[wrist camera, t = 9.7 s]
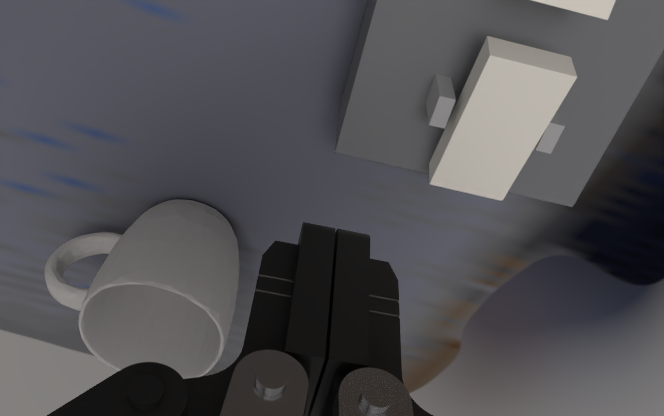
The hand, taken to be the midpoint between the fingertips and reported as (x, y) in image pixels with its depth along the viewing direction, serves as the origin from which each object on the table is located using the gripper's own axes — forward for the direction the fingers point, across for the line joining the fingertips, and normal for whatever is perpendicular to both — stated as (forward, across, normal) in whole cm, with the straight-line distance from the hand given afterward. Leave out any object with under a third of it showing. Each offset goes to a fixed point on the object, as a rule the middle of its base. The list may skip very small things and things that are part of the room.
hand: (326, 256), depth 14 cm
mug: (+24, +9, +22) cm, 34 cm away
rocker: (+17, -8, +4) cm, 19 cm away
